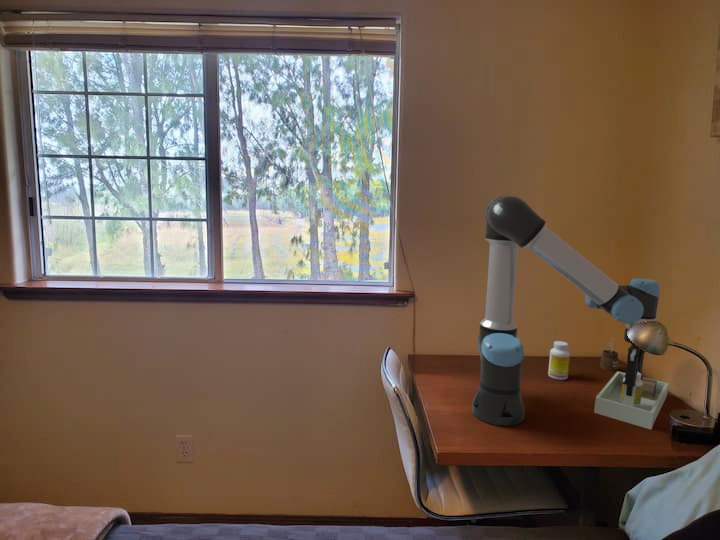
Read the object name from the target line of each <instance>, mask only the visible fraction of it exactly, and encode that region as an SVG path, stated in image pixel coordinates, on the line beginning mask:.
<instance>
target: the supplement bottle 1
mask: <svg viewBox="0 0 720 540" xmlns="http://www.w3.org/2000/svg"><path fill="white" fill-rule="evenodd" d="M568 347H569V344H568V342H566V341H561V340H555V341H553V348H551V349H550V351H549V361H548V362H549V363H548V370H547V371H548V372H547V375H548V377H549V378H551V379H554V380H559V381H564V380H568V378H569V370H570V360H571V359H570V358H571V352H570V351H569V350H568Z"/></svg>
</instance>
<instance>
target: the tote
mask: <svg viewBox="0 0 720 540" xmlns="http://www.w3.org/2000/svg"><path fill="white" fill-rule="evenodd" d="M625 374H626V372H621V371H618V370H617V371H615V374H614V375H613V376H612V377H611V378H610V379H609V381H608V382H607V383H606V384H605V386H604V387H603V388H602V389H601V391H599V393H598V394H597V395H596V396H595V402H594V410H593V411H594V414H598V415H601V416H605V417H608V418H610V419H614V420H617V421H621V422H623V423H624V422H625V423H627V424H630V425H634V426H638V427H640V428H644V429H648V430H651V431H652V429H653V427H654V425H655V422H656V419H657V417H658V415H659V413H660V411H661V410H662V409H661V408H662V407H663V405H664V404H665V403H664V402H665V401H666V399H667V396H668V391H669V382H663V381H661V380H656V379H654V380H655V381H657V385H656V392H655V396H654V398H653V400H650V399H646V398H642V397H641V402H640V405H638V406H629V405H626V404H623V402H622V401H621V389H622V381H623V377H624V376H625ZM642 377H643V378H645V377H644V376H642ZM646 378H647V377H646ZM647 379H649V378H647ZM650 379H651V378H650ZM651 380H653V379H651Z"/></svg>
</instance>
